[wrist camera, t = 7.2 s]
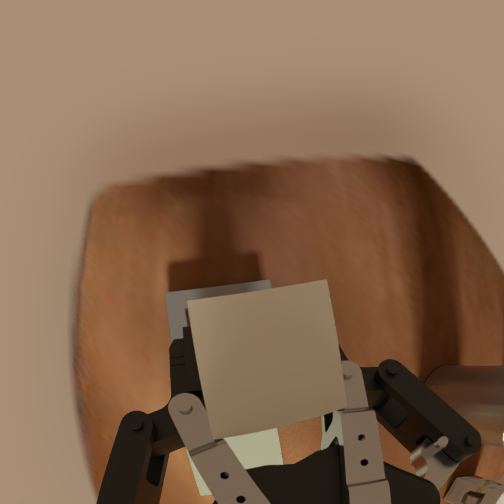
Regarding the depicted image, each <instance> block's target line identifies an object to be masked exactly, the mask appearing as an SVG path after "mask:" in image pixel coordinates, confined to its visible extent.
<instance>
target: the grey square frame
mask: <svg viewBox="0 0 504 504" xmlns="http://www.w3.org/2000/svg"><path fill="white" fill-rule="evenodd" d="M266 289H271V284H270V279H269V280H261V281H254V282H247V283H239V284H232V285H224V286H216V287H208V288H199V289H191V290H182V291H174V292H165V298H166V306H167V314H168V321H169V329H170V335H171V342H172V341H173V339H181V338H183V327H188V326H189V323H188V316H187V310H188V304H187V301H188V300H196V299H203V298H211V297H218V296H225V295H232V294H239V293H246V292H253V291H259V290H266Z"/></svg>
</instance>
